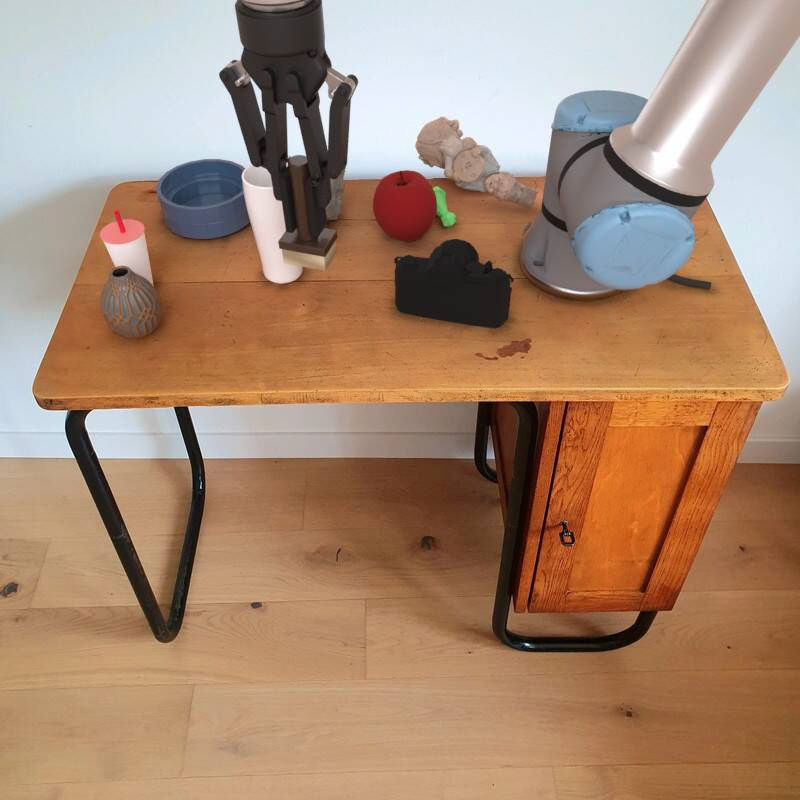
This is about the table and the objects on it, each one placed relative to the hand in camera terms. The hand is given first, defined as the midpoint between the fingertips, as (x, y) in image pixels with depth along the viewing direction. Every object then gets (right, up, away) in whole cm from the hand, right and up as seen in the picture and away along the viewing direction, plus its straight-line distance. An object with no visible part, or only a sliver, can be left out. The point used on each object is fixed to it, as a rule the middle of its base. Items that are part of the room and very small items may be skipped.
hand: (306, 227), depth 83 cm
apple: (+11, +5, +27) cm, 29 cm away
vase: (-23, -10, +13) cm, 28 cm away
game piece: (+14, +11, +29) cm, 34 cm away
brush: (0, -3, +3) cm, 4 cm away
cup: (-24, -4, +19) cm, 31 cm away
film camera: (+17, -6, +17) cm, 24 cm away
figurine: (+15, +22, +37) cm, 45 cm away
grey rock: (-3, +9, +30) cm, 32 cm away
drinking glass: (-6, -2, +21) cm, 22 cm away
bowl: (-18, +8, +30) cm, 36 cm away
